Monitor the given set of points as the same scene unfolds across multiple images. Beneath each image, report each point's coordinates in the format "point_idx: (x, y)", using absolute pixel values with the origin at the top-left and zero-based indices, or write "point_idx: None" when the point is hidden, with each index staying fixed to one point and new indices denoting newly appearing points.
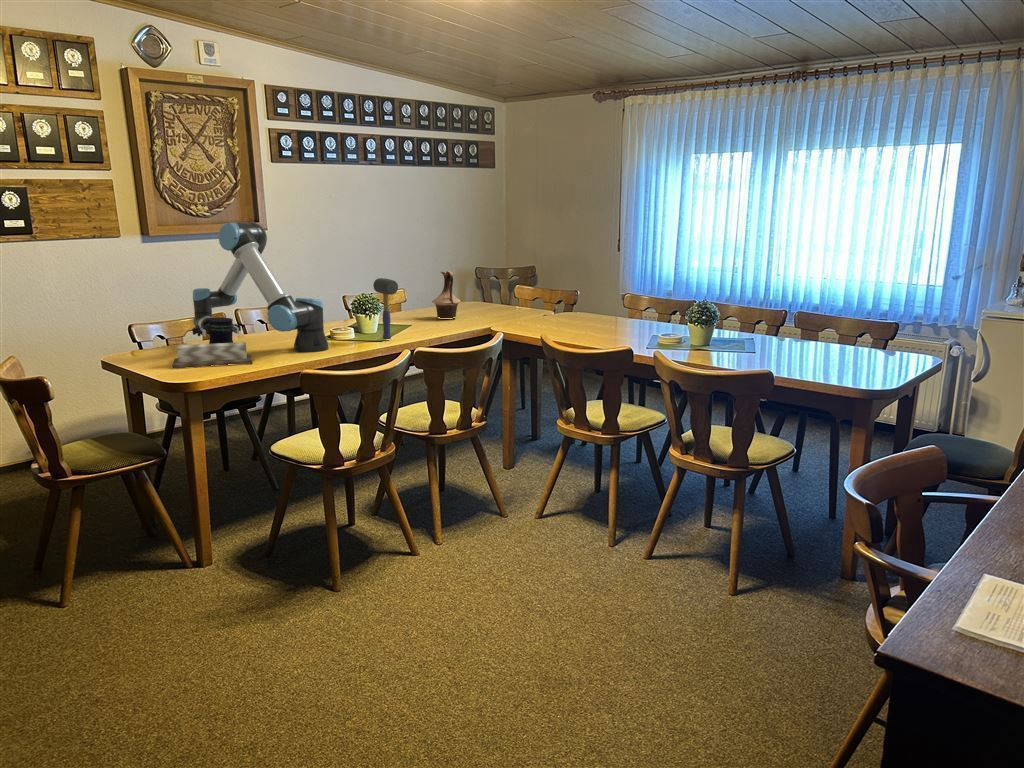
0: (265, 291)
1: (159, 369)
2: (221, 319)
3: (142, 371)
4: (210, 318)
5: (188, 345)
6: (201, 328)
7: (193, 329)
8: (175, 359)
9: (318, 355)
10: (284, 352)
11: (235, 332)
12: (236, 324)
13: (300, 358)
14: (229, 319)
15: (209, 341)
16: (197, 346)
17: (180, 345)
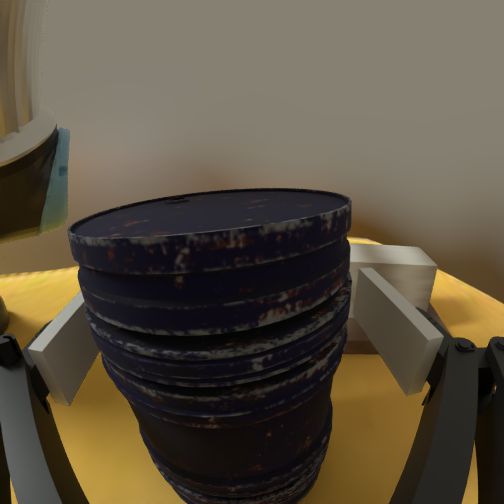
0: (41, 68)
1: (440, 292)
2: (194, 208)
3: (466, 287)
4: (335, 211)
5: (397, 258)
6: (429, 331)
7: (494, 340)
8: (439, 323)
9: (33, 287)
10: (29, 340)
11: (97, 347)
12: (3, 338)
13: (77, 283)
14: (115, 215)
15: (330, 398)
16: (360, 246)
17: (426, 262)
